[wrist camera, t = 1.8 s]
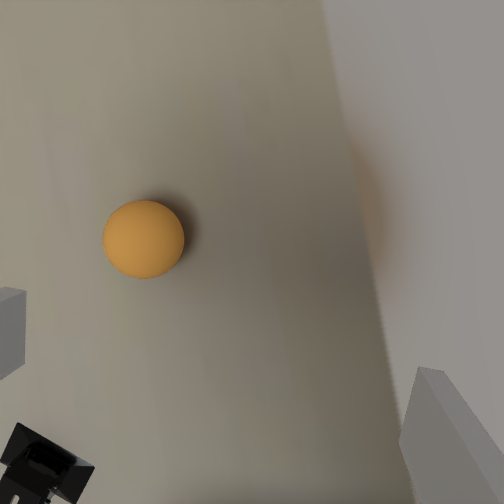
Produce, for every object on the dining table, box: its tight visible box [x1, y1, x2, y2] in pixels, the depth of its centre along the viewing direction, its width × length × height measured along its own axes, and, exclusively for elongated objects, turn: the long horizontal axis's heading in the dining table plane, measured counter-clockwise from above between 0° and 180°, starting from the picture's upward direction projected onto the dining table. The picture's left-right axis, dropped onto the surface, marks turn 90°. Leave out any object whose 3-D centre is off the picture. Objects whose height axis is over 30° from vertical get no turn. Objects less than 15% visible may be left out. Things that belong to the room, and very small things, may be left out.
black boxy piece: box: [0, 423, 95, 504], centre depth 34 cm, size 12×7×5 cm, turn 61°
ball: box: [103, 200, 184, 279], centre depth 27 cm, size 6×6×6 cm
